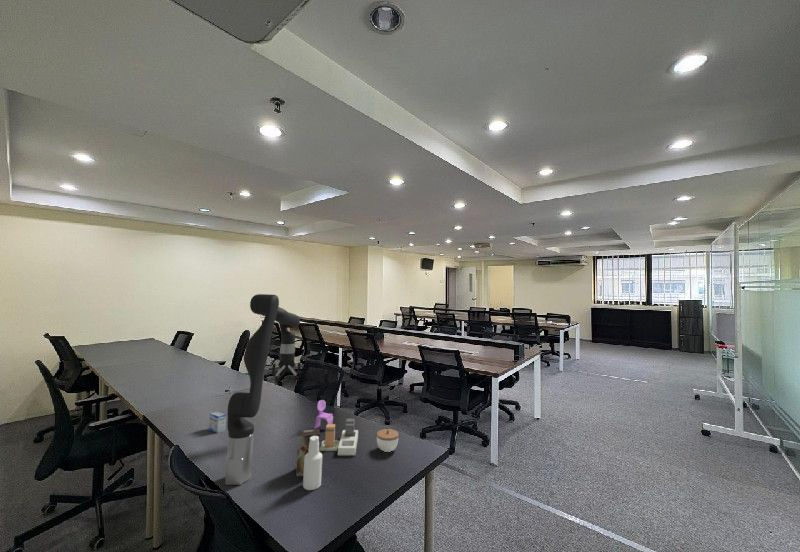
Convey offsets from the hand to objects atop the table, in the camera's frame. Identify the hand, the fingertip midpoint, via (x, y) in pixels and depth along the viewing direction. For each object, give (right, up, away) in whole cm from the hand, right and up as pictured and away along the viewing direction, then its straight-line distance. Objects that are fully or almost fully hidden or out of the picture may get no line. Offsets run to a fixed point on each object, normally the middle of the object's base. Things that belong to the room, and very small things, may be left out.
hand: (285, 382), depth 170 cm
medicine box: (-37, -26, 0) cm, 45 cm away
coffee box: (+22, -25, -37) cm, 50 cm away
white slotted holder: (+36, -27, -14) cm, 47 cm away
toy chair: (+19, -28, +7) cm, 34 cm away
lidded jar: (+55, -28, -16) cm, 64 cm away
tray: (+27, -27, -15) cm, 41 cm away
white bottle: (+27, -25, -46) cm, 59 cm away
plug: (+27, -26, -15) cm, 41 cm away
